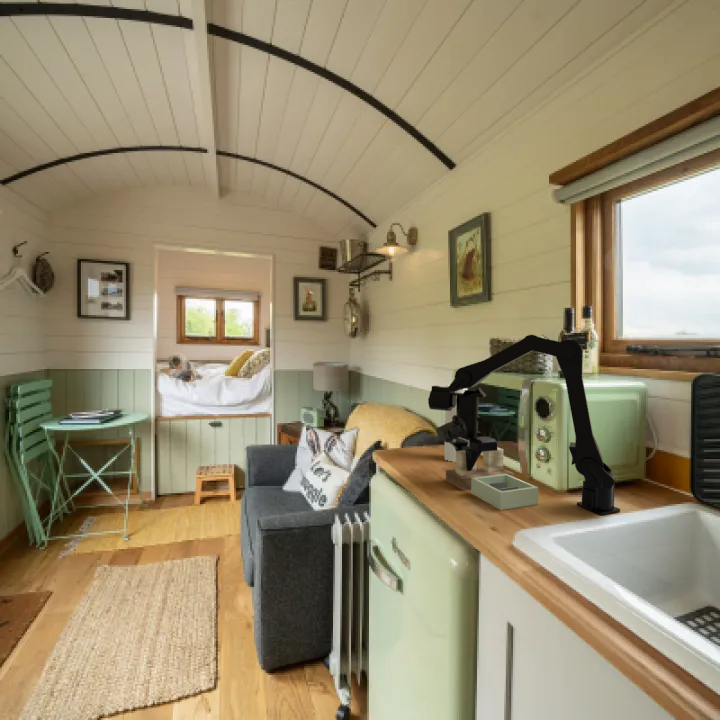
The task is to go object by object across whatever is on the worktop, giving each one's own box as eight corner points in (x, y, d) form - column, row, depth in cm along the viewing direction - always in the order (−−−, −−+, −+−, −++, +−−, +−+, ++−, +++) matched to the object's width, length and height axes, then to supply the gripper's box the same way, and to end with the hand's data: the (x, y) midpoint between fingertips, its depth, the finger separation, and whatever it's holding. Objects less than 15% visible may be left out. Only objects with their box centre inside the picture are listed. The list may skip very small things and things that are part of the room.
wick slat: (496, 478, 112) (497, 447, 112) (502, 481, 109) (503, 449, 109) (482, 480, 110) (483, 448, 110) (488, 483, 108) (488, 450, 107)
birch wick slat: (470, 481, 109) (471, 449, 108) (476, 484, 106) (476, 451, 106) (455, 483, 107) (455, 450, 107) (460, 486, 105) (461, 453, 104)
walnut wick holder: (494, 475, 115) (494, 464, 115) (513, 483, 107) (513, 472, 107) (445, 480, 109) (445, 470, 109) (462, 490, 101) (462, 479, 101)
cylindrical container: (464, 456, 134) (465, 384, 134) (467, 462, 127) (469, 386, 127) (443, 456, 135) (444, 384, 135) (445, 461, 128) (447, 386, 127)
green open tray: (505, 488, 103) (506, 473, 103) (538, 504, 93) (538, 487, 93) (471, 493, 99) (471, 477, 99) (500, 510, 89) (501, 492, 89)
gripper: (424, 408, 112) (423, 462, 112) (462, 419, 95) (461, 483, 95) (456, 407, 116) (455, 459, 116) (499, 417, 98) (498, 478, 99)
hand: (466, 469), depth 106 cm, fingers closed on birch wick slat, 2 cm apart
